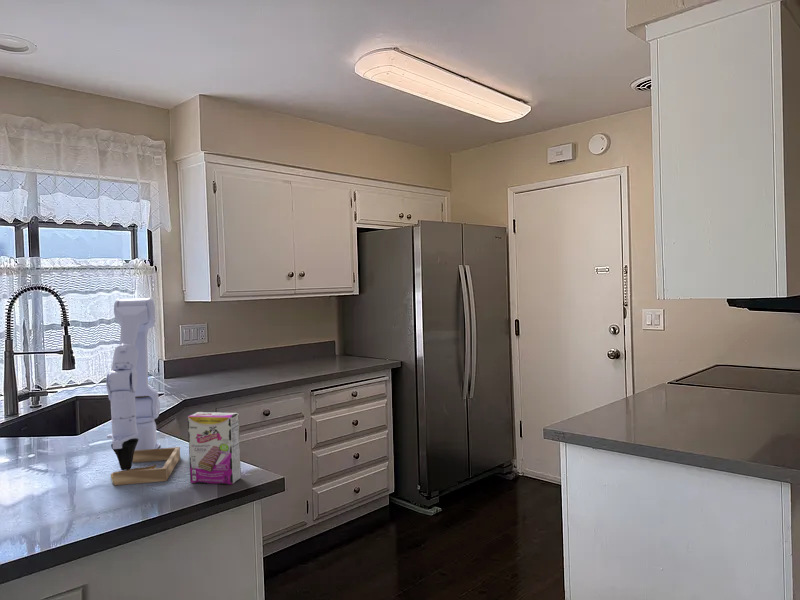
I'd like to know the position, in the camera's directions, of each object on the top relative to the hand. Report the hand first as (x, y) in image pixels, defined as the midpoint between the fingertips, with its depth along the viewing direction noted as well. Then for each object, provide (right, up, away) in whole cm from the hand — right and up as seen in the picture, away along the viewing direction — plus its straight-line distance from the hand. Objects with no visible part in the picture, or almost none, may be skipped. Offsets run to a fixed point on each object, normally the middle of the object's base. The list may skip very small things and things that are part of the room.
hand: (126, 469), depth 152 cm
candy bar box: (+26, -1, -8) cm, 27 cm away
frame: (+5, -1, +1) cm, 6 cm away
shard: (+2, -2, -2) cm, 4 cm away
